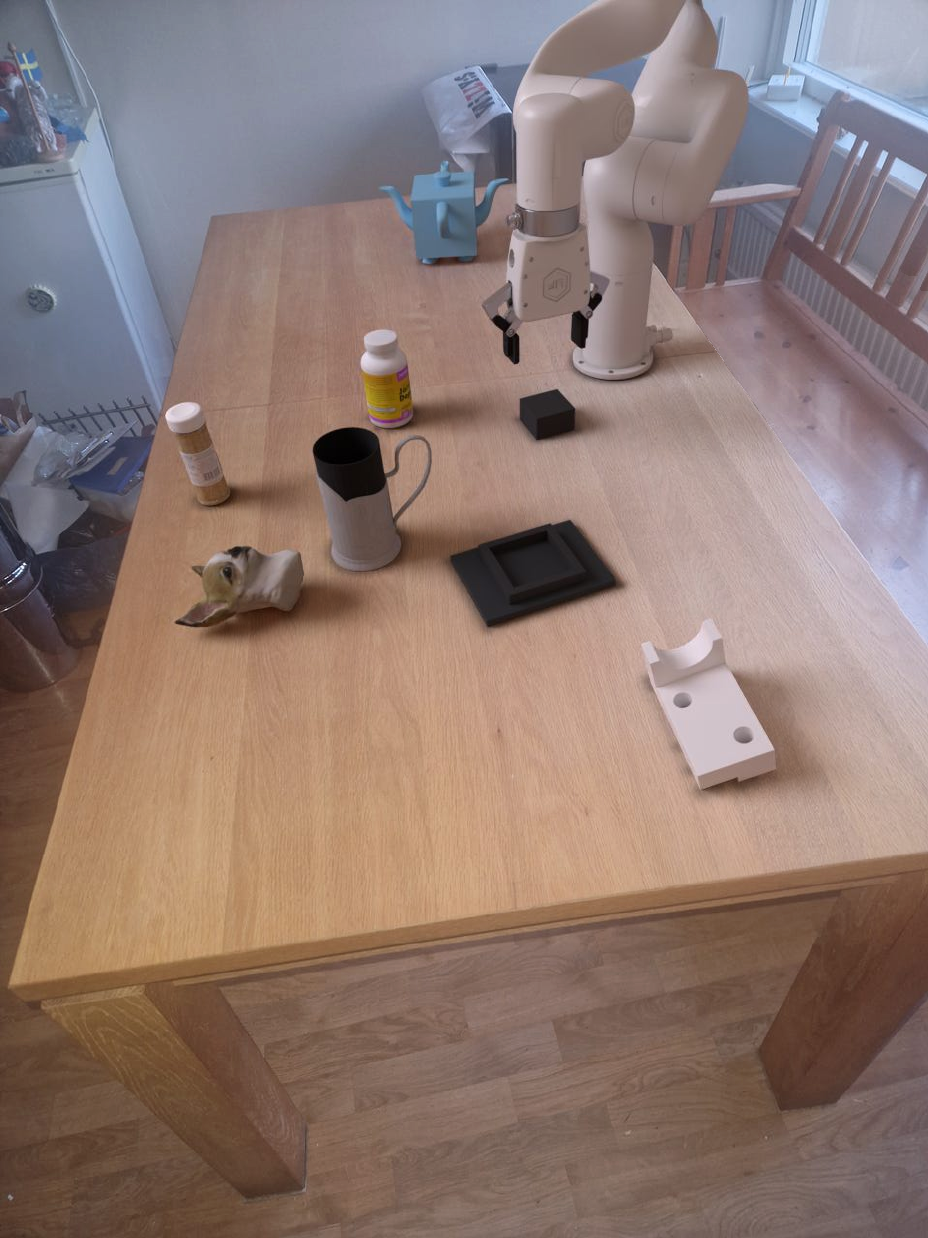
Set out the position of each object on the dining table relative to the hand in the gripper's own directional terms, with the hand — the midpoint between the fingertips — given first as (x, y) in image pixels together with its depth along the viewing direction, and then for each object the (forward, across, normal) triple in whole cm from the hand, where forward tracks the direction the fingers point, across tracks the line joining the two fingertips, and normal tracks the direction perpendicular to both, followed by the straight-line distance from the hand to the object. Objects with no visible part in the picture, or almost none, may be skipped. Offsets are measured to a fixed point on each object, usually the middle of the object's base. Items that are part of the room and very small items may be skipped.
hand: (545, 351), depth 108 cm
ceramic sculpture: (+13, -46, -19) cm, 52 cm away
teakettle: (+11, +9, +67) cm, 69 cm away
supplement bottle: (+12, -19, +12) cm, 26 cm away
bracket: (+12, -8, -55) cm, 57 cm away
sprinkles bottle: (+12, -47, +4) cm, 49 cm away
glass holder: (+12, -28, -15) cm, 34 cm away
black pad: (+12, +1, 0) cm, 12 cm away
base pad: (+12, -14, -28) cm, 33 cm away
